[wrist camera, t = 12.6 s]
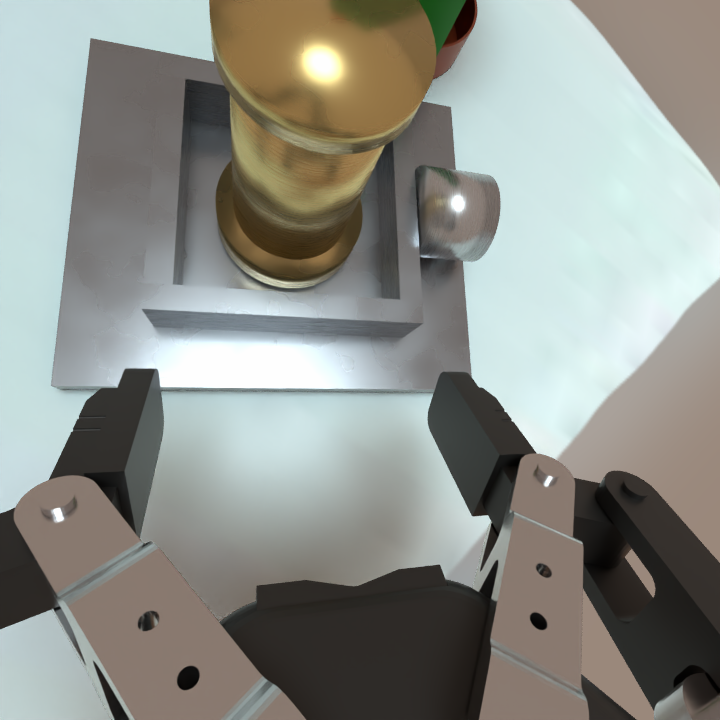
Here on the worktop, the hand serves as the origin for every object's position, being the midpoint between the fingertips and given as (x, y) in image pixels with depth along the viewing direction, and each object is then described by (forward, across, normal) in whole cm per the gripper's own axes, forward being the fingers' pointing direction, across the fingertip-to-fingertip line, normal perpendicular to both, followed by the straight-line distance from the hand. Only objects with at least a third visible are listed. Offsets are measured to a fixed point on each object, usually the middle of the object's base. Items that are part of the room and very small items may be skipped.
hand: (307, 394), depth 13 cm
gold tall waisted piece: (+11, 0, -2) cm, 11 cm away
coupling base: (+12, 0, -1) cm, 12 cm away
